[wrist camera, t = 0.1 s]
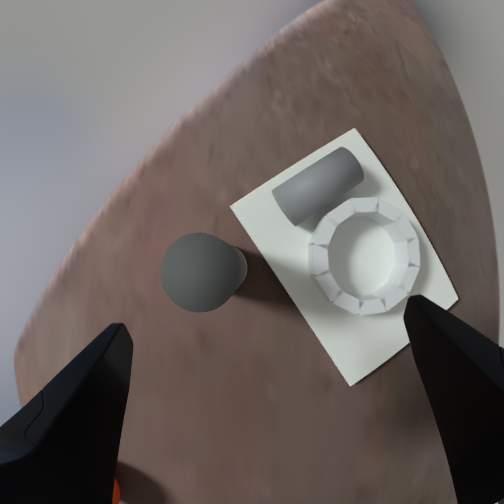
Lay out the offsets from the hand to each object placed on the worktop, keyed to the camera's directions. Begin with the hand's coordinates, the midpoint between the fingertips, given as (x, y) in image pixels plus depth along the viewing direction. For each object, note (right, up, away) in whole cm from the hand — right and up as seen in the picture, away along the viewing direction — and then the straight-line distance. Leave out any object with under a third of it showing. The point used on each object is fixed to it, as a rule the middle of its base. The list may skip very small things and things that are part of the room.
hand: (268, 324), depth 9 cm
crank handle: (-3, +1, +15) cm, 15 cm away
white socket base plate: (+8, +2, +15) cm, 17 cm away
